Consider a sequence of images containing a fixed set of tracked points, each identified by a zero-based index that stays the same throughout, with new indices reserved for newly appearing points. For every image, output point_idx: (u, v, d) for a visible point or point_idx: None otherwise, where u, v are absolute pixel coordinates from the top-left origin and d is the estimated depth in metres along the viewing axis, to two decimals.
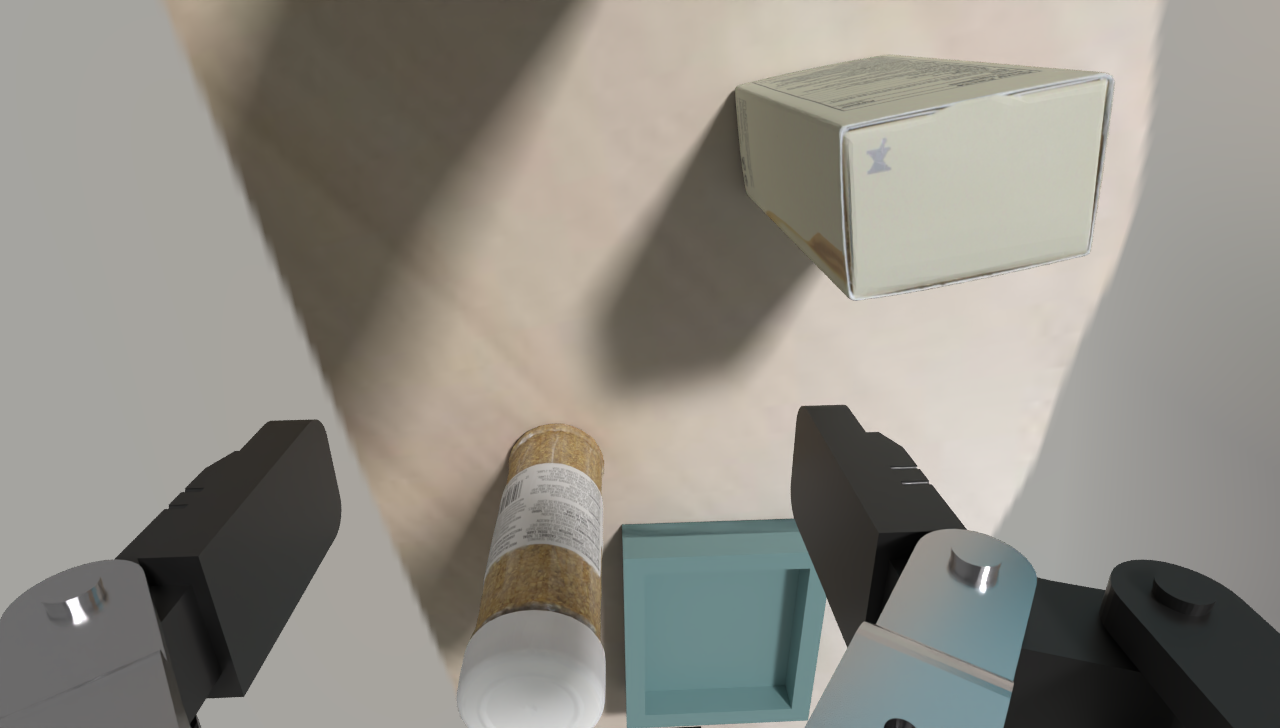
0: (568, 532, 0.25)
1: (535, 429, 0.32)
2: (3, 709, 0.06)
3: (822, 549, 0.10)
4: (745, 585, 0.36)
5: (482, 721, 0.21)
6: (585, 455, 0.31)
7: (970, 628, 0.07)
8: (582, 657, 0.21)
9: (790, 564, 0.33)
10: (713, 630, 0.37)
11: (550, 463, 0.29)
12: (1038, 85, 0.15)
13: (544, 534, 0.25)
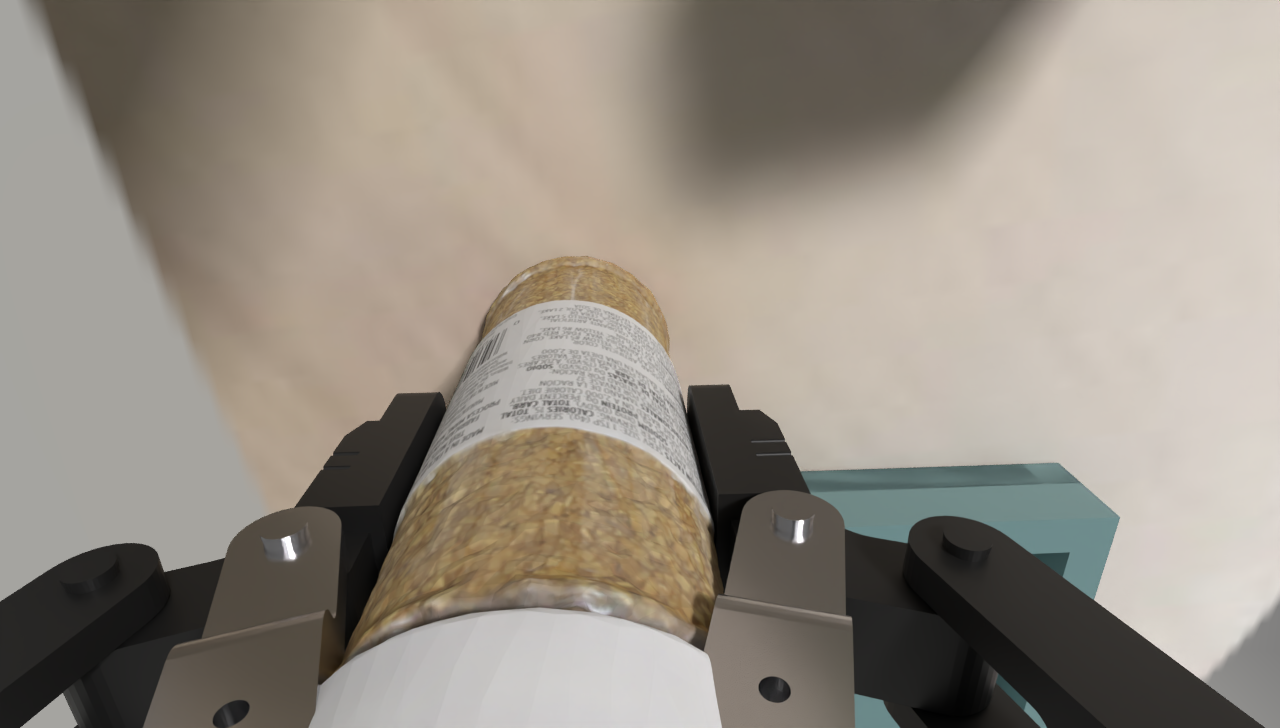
0: (625, 410, 0.09)
1: (535, 266, 0.16)
2: (209, 628, 0.07)
3: None
4: None
5: None
6: (639, 305, 0.15)
7: (801, 578, 0.07)
8: None
9: (1033, 544, 0.17)
10: None
11: (568, 300, 0.13)
12: None
13: (561, 407, 0.09)
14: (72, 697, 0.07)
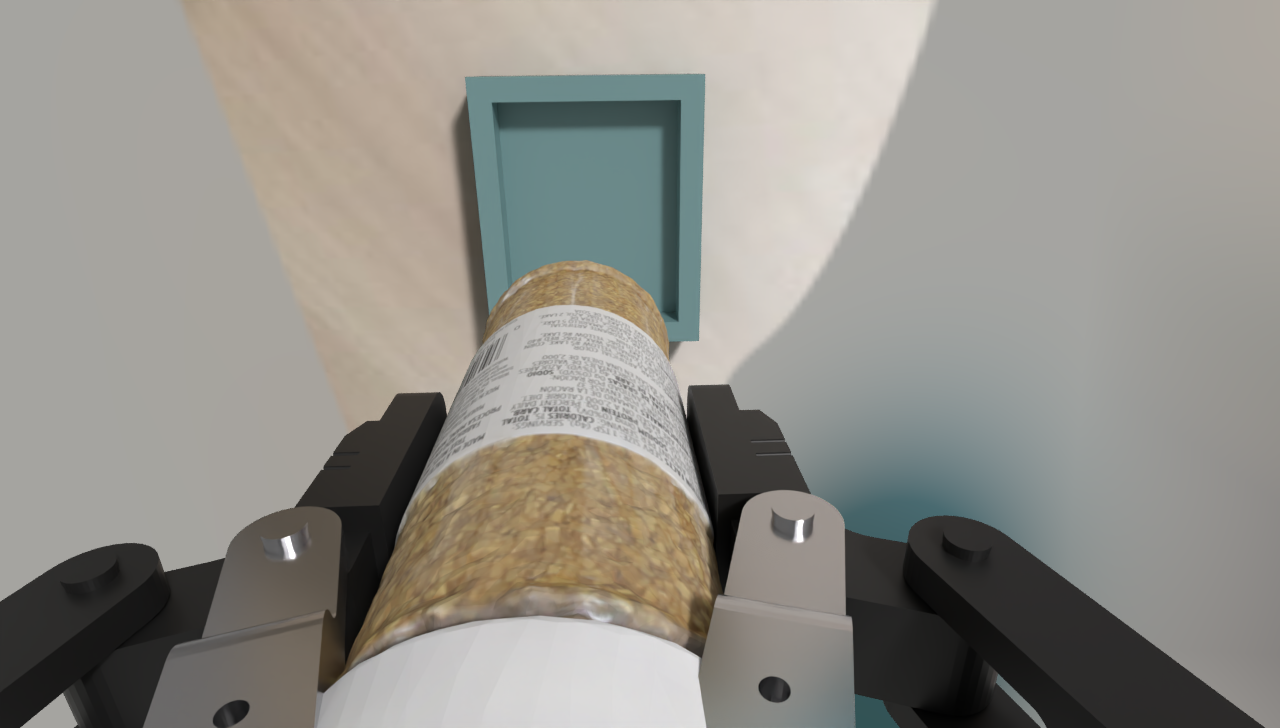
0: (626, 415, 0.09)
1: (535, 270, 0.16)
2: (209, 628, 0.07)
3: None
4: (617, 156, 0.32)
5: None
6: (639, 310, 0.15)
7: (802, 578, 0.07)
8: None
9: (657, 92, 0.29)
10: (587, 223, 0.33)
11: (569, 305, 0.13)
12: None
13: (562, 413, 0.09)
14: (72, 697, 0.07)
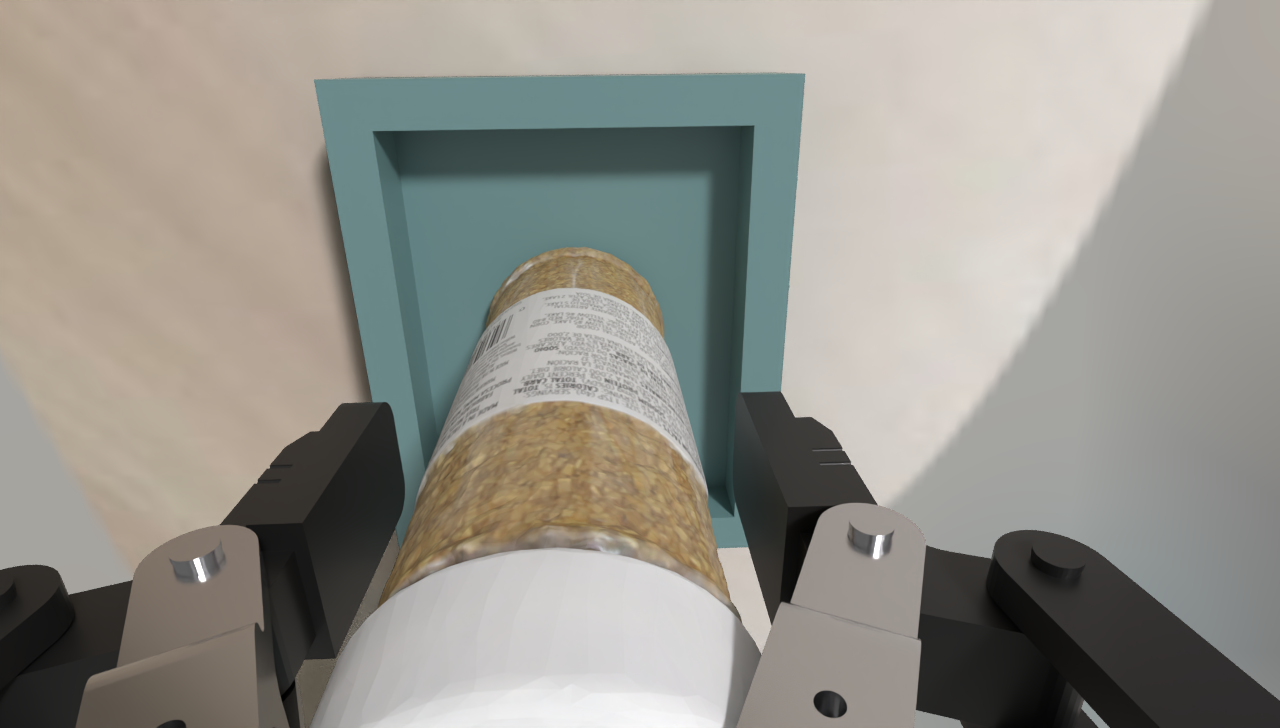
0: (627, 387, 0.10)
1: (536, 256, 0.17)
2: (124, 658, 0.06)
3: (753, 528, 0.11)
4: (625, 227, 0.17)
5: None
6: (636, 293, 0.16)
7: (873, 594, 0.07)
8: None
9: (708, 110, 0.15)
10: None
11: (570, 288, 0.14)
12: None
13: (568, 383, 0.10)
14: None
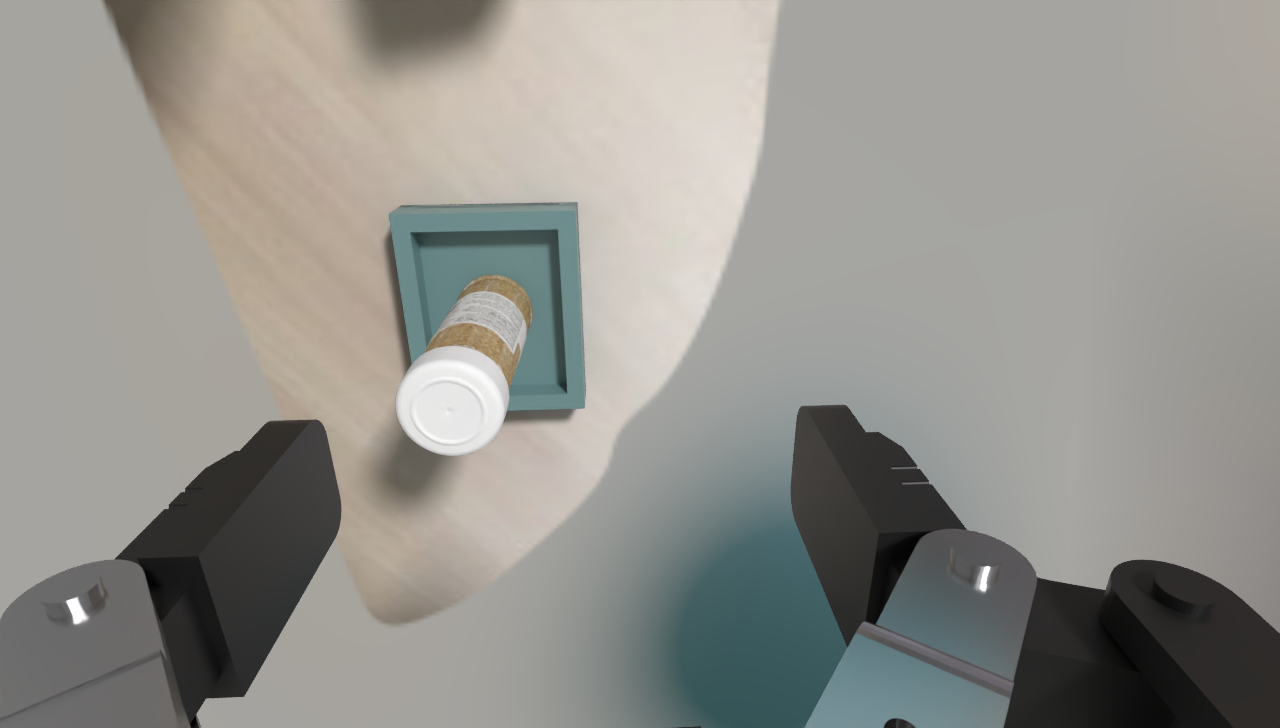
0: (489, 321, 0.33)
1: (476, 278, 0.40)
2: (2, 711, 0.06)
3: (822, 549, 0.10)
4: (514, 266, 0.40)
5: (414, 421, 0.29)
6: (514, 293, 0.39)
7: (970, 628, 0.07)
8: (486, 371, 0.29)
9: (539, 224, 0.38)
10: None
11: (483, 291, 0.37)
12: None
13: (470, 319, 0.33)
14: None
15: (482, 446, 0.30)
